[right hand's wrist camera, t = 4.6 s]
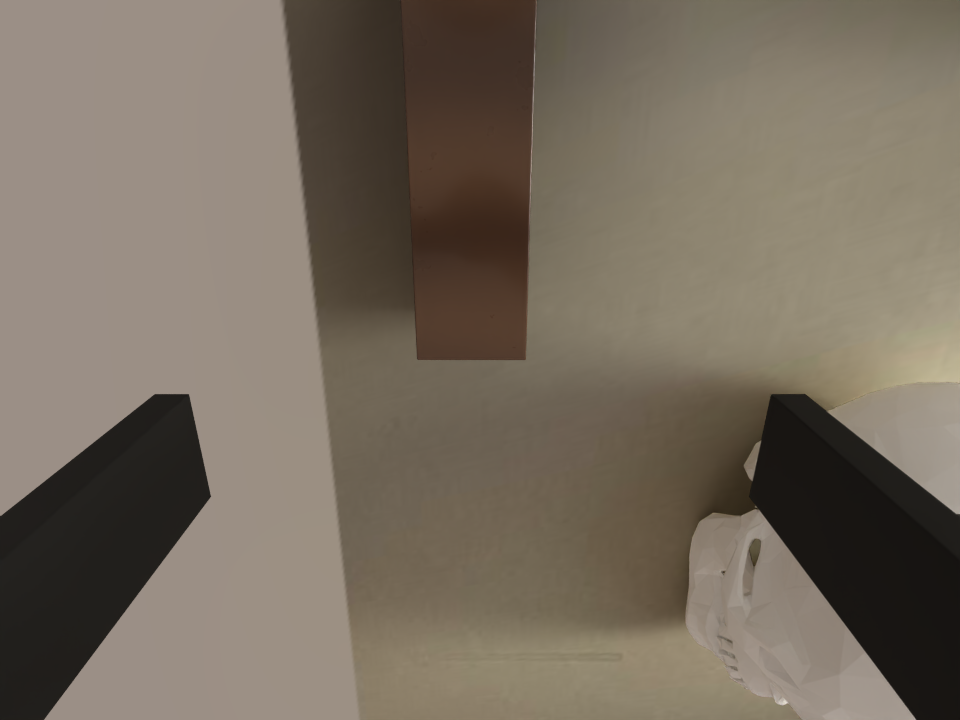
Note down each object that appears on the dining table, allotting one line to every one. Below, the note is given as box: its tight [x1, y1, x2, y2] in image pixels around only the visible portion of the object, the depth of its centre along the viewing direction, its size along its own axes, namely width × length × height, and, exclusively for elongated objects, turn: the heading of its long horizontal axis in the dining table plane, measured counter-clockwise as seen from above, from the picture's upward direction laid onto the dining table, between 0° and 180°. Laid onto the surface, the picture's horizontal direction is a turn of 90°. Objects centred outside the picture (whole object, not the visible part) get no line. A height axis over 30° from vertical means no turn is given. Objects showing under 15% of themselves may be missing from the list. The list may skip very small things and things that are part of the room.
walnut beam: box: [401, 0, 537, 360], centre depth 22 cm, size 22×4×7 cm, turn 0°
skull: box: [685, 382, 960, 720], centre depth 26 cm, size 13×22×16 cm, turn 158°
